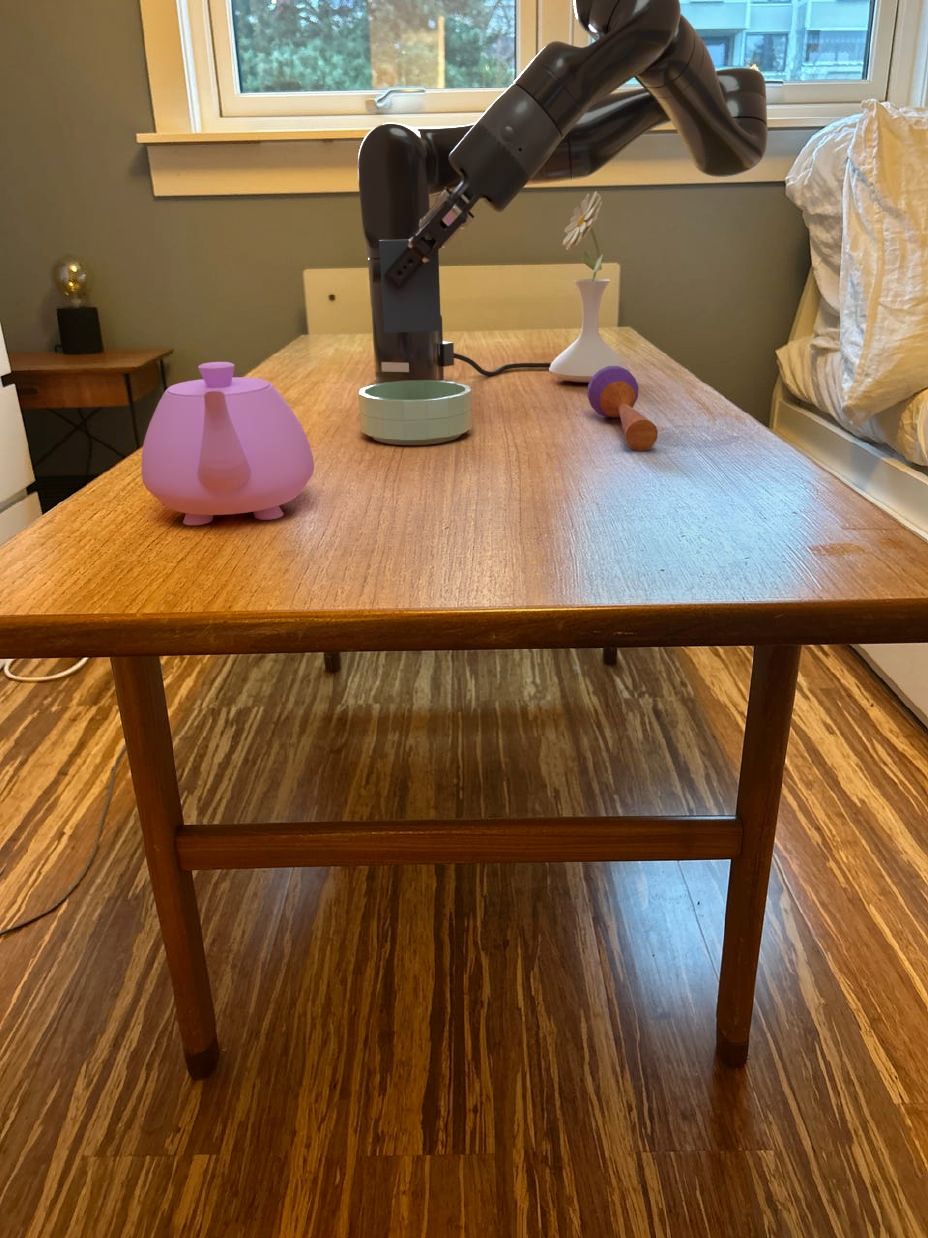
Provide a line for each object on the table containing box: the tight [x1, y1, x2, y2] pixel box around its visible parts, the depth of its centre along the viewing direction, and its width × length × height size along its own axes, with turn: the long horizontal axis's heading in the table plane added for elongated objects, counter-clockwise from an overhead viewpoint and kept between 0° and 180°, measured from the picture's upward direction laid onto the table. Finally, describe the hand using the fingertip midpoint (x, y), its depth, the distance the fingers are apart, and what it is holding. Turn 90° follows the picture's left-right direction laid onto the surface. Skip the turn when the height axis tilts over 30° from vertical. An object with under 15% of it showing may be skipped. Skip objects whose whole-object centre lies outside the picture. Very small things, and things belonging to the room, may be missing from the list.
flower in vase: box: [548, 190, 629, 384], centre depth 125 cm, size 13×11×25 cm
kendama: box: [586, 366, 659, 452], centre depth 101 cm, size 6×6×20 cm
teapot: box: [140, 361, 315, 526], centre depth 74 cm, size 20×14×12 cm
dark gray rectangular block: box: [379, 239, 442, 333], centre depth 95 cm, size 3×6×9 cm, turn 94°
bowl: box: [358, 380, 473, 446], centre depth 101 cm, size 12×12×5 cm
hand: (390, 281), depth 95 cm, fingers closed on dark gray rectangular block, 3 cm apart
